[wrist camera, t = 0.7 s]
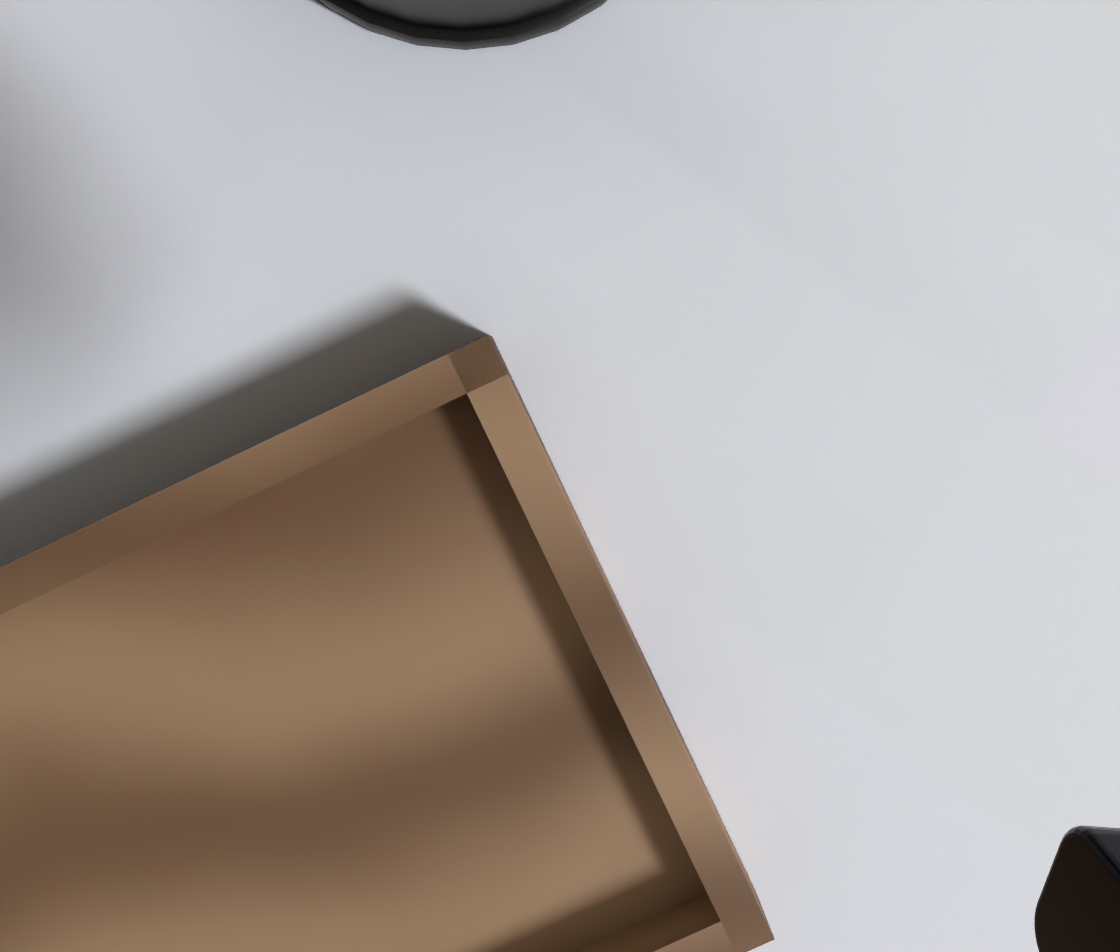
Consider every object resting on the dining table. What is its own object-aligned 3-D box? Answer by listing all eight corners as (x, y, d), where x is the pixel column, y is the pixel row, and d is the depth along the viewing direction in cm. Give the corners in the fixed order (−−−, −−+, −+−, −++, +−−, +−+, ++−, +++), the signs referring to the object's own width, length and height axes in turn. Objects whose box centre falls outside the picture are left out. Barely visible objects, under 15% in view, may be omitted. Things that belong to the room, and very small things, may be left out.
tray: (756, 891, 22) (774, 938, 20) (-150, 1299, 23) (-209, 1379, 21) (492, 336, 21) (487, 334, 19) (-465, 792, 22) (-557, 832, 20)
